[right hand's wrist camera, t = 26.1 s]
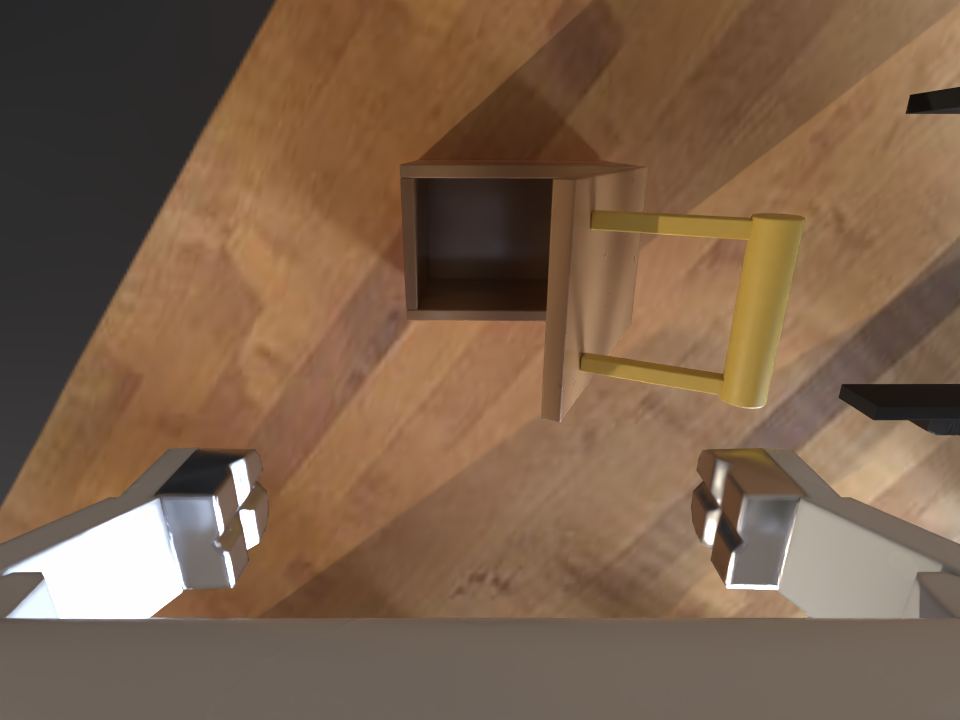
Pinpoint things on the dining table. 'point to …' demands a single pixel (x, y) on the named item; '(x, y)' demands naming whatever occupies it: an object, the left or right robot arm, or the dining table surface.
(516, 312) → the chest
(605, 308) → the lid
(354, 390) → the dining table surface
